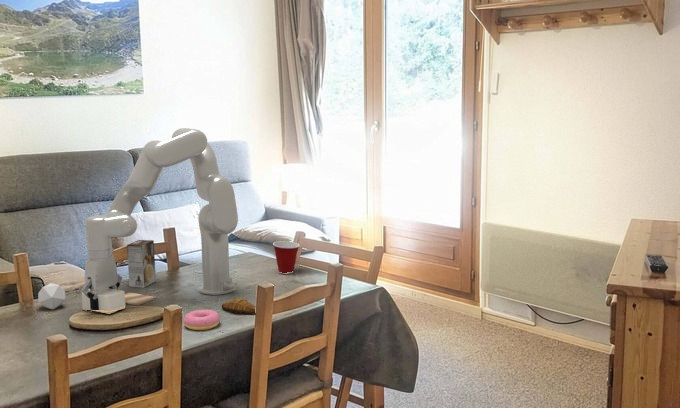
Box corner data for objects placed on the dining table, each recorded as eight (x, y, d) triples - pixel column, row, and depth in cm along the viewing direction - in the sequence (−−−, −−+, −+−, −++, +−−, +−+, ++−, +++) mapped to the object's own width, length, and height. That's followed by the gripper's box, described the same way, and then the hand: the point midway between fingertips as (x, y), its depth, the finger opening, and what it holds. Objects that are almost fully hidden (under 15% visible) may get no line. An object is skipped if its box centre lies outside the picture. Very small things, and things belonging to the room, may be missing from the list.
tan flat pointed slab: (157, 298, 230) (157, 297, 230) (138, 305, 222) (137, 304, 222) (129, 293, 236) (129, 292, 236) (110, 300, 228) (110, 298, 228)
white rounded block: (125, 308, 218) (124, 291, 217) (109, 314, 212) (107, 296, 211) (99, 303, 224) (98, 286, 223) (82, 309, 217) (81, 292, 217)
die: (71, 308, 221) (69, 282, 226) (54, 303, 214) (52, 275, 218) (50, 316, 223) (49, 289, 227) (32, 310, 215) (31, 283, 219)
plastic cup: (299, 276, 259) (298, 246, 257) (271, 276, 259) (271, 246, 257) (301, 269, 270) (300, 240, 268) (274, 269, 270) (274, 240, 268)
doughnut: (176, 325, 203) (176, 312, 202) (207, 317, 210) (207, 305, 210) (196, 334, 195) (196, 321, 194) (227, 325, 203) (227, 312, 202)
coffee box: (140, 280, 254) (138, 239, 251) (156, 281, 252) (154, 240, 250) (128, 287, 245) (126, 244, 242) (144, 287, 244) (142, 245, 241)
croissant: (216, 312, 216) (215, 297, 215) (228, 306, 222) (227, 292, 221) (251, 318, 210) (250, 303, 209) (262, 312, 216) (262, 297, 215)
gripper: (112, 247, 224) (116, 298, 227) (70, 258, 209) (74, 312, 212) (128, 249, 221) (132, 300, 223) (86, 261, 205) (91, 316, 208)
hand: (104, 306), depth 218 cm, fingers closed on white rounded block, 7 cm apart
